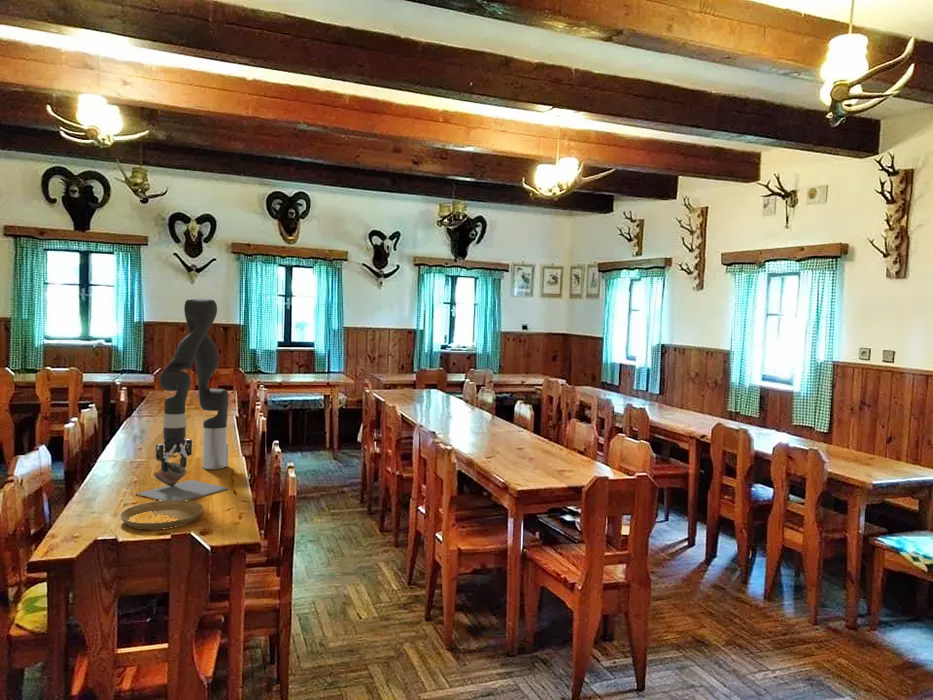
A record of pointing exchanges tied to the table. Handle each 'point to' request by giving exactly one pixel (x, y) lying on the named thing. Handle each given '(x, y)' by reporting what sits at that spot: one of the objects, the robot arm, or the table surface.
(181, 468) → the lighter
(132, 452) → the table surface
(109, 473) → the table surface
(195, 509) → the plant saucer
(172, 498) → the mat
